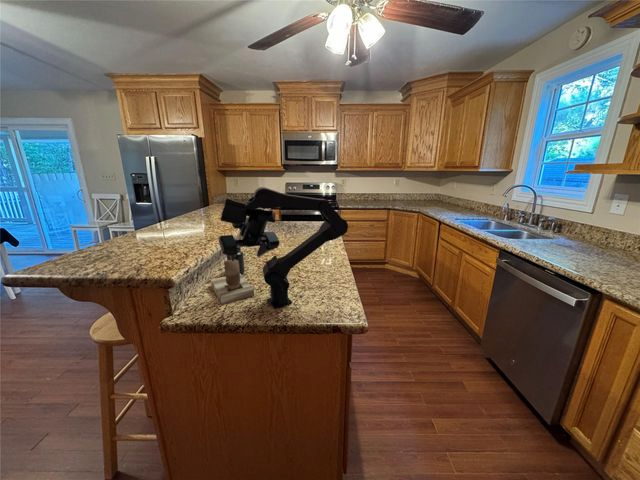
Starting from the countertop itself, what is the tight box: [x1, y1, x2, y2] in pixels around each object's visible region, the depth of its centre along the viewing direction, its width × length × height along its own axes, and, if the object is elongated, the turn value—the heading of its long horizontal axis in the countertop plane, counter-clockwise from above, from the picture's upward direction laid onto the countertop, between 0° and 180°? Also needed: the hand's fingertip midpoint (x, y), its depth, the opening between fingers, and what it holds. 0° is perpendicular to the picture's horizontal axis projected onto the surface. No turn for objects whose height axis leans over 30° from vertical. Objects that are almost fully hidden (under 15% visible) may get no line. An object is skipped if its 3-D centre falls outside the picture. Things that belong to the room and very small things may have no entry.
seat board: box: [210, 274, 255, 305], centre depth 91 cm, size 16×11×2 cm
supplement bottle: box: [226, 247, 246, 275], centre depth 105 cm, size 7×7×12 cm
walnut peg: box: [223, 259, 240, 292], centre depth 88 cm, size 5×5×12 cm
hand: (245, 258), depth 86 cm, fingers open, 9 cm apart
